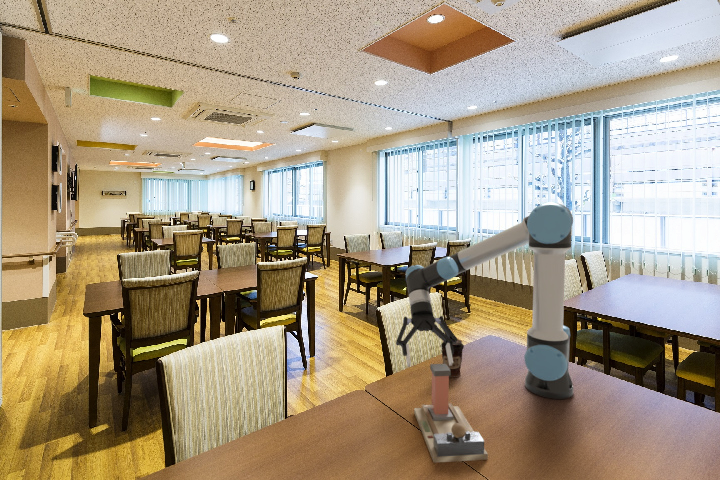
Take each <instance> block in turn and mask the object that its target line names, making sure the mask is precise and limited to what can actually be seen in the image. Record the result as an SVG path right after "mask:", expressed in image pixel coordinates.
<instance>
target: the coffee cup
mask: <svg viewBox="0 0 720 480" xmlns="http://www.w3.org/2000/svg"><path fill="white" fill-rule="evenodd" d="M462 342H463V341H462V340H461V339H459V338H457V342H456V343H455V344H453V349H454V353H453V355H452V358H453V364H452V366H449V362H448V357H447V351H446V345H447V344H446V343H445V342H444V341H443V340H442V343H441V345H440V347H441V357H442V364H446V365H447V366H448V367H449V369H450V370H451V376H449V378H458V377H460V376H461V373H462V372H461V366H462V361H463V350H464V348H465V347H464V344H463V343H462Z"/></svg>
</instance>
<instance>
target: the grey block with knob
mask: <svg viewBox="0 0 720 480" xmlns="http://www.w3.org/2000/svg"><path fill="white" fill-rule="evenodd" d="M433 447H434V449H435V452H436V454H437V457H443V456H460V455H477V454H484V448H485V440H484V438H483V437H482V435H481V434H480V432H479V431H474V432H469V431H466V434H465V436H464V437H459V438H456V437H454V436H453V434H452V433H451V432H447V433H444V434H433Z"/></svg>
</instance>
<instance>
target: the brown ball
mask: <svg viewBox="0 0 720 480" xmlns="http://www.w3.org/2000/svg"><path fill="white" fill-rule="evenodd" d="M451 431H452V434H453V436H454V437H456V438H459V437H464V436H465V434H466V429H465V427H464V426H463V425H462V424H461V423H455V424H454V425H453V426H452V429H451Z"/></svg>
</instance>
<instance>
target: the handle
mask: <svg viewBox="0 0 720 480" xmlns="http://www.w3.org/2000/svg"><path fill="white" fill-rule="evenodd" d="M429 364H430V363H429ZM429 366H430V367H429V368H430V369H429V370H430V371H431V404H426V405H424V408H427V409H428V411H429V413H430V415H431V417H432V419H433V421H440V420H453V415H452V413H451V412H450V410H449V408H448V405H449V403H450V402H449V399H450V398H449V395H450V392H449V391H450V390H449V388H450V387H449V386H450V385H449V384H450V377H449V376H451V370H450V369H449V367H448V366H447V365H446V364H443V363H433V364H432V363H431V364H430V365H429Z"/></svg>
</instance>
